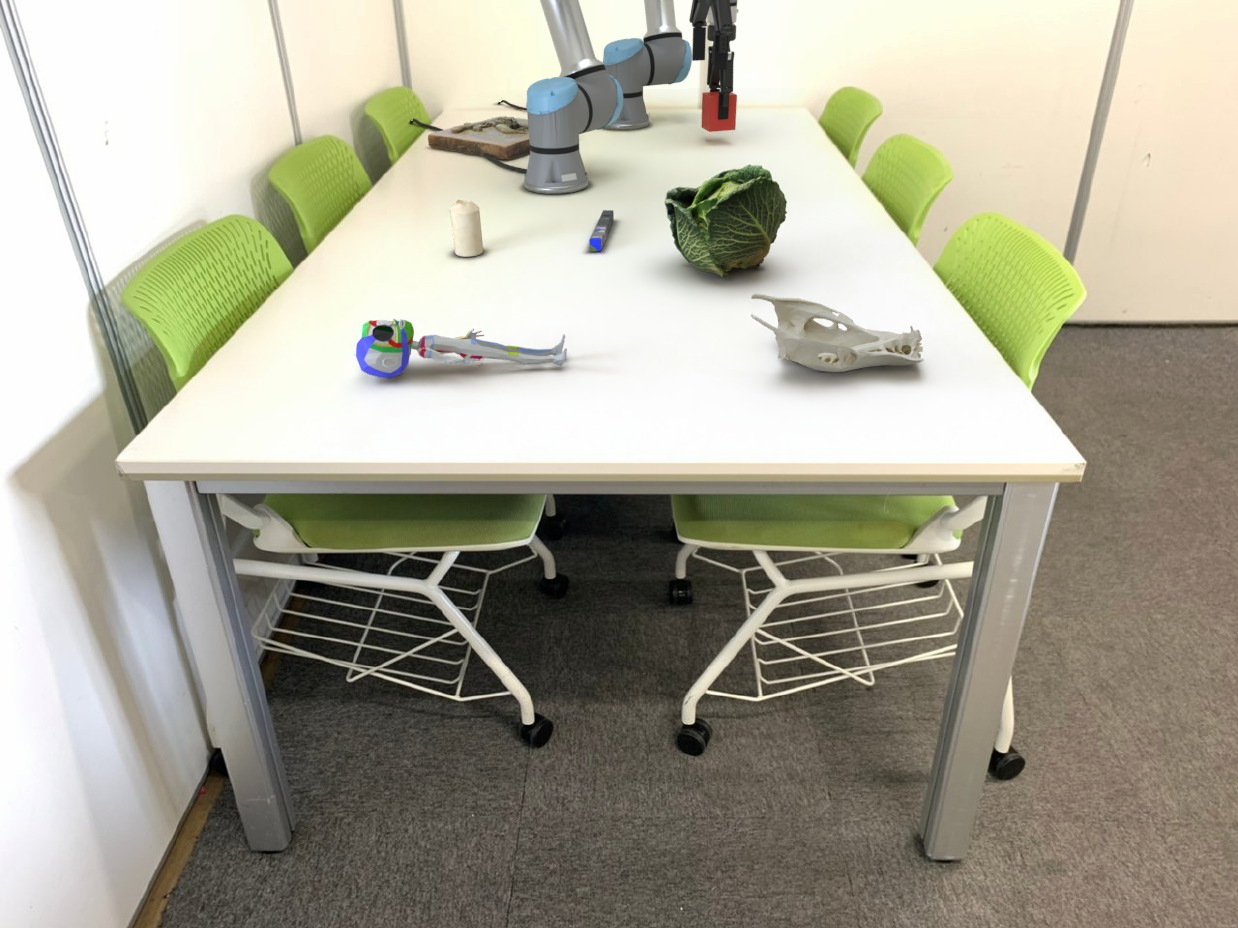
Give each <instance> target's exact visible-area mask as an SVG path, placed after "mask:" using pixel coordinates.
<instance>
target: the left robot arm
mask: <svg viewBox="0 0 1238 928" xmlns="http://www.w3.org/2000/svg"><path fill="white" fill-rule="evenodd" d="M539 3H540V5H541V9H542V11H543V12H542V13H543V15H544V18H545V22H546V24H547V29H548V32H549V35H550V38H551V41H552V43H553V47H554V50H555V53H556V56H557V60H558V63H559V67H560V69H561V70H560V73H559V76H553V77H551V78H543V79H540V80H537V81H535V82H533V83H531V84H530V85H529V86H528V88H527V90H526V105H525V108H527V111H526V113H527V114H526V115H527V119H528V129H529V142H530V153H529V157H528V162H527V168H523V167H518V166H515V165H510V164H507V163H505V162H503V161H501V160H500V159H497V158H493V157H492V156H490V155H488V154H486V153H484V154H483V156H482V157H485V158H486V159H488V160H489V161H491V162H493V163H495V164H496V165H498V166H500V167H503V168H505V169H508V170H511V171H515V172H519V173H524V174H525V175H524V180H523V183H524V188H525V189H526V190H527V191H530V192H531V193H535V194H536V193H537V194H543V195H544V194H545V195H562V194H570V193H576V192H579V191H583V190H584V189H586V188H587V187H589V175H588V173H587V171H586V168H585V164H584V161H583V158H582V156H581V153H580V135H582V134H585V133H589V132H592V131H596V130H601V129H605V128H604V127H606V126H608V125H611V124H612V123H614V122H615V121H616V120H617V118H618V117H619V115H620V112H621V110H622V107H623V92H622V89H621V86H620V84H619V82H618V81H617V80H616V79H614V77H613V76H611V75H608V74H607V72H606V69H605V65H604V63H603V61H601V60H599V59H598V58H597V57H596V54H595V51H594V48H593V45H592V41H591V37H590V34H589V31H588V28H587V25H586V21H585V18H584V15H583V11H582V7H581V3H580V0H539ZM710 6H711V10H712V15H713V20H714V25H715V29H716V31H715V32H714V33H713V36H714V56H713V70H726V69H727V47H728V35H729V33H732V32H733V24H732V15H731V6H730V0H692V2H691V7H690V13H689V18H688V21H689V23H690V24H691V27H692V47H691V50H692V62H696V61H697V62H698V61H706V44H707V43H706V39H707V27H708V22H707V19H708V12H709V8H710ZM412 118H413V117H412ZM409 123H410V125H412V124H413V123H415V124H417V125H418V126H420V127H424V128H427V129H430V130H434V131H435V132H438V131H442V130H444V129H443V128H440V127H438V126H435V125H431V124H427V123H424V122H421V121H419V120H418V119H416V118H413V121H411V119H410V120H409V122H408V124H409Z"/></svg>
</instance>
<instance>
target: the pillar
mask: <svg viewBox="0 0 1238 928" xmlns="http://www.w3.org/2000/svg"><path fill="white" fill-rule="evenodd" d="M614 216H615V215H614V210H613V209H612V210H611V209H602V212H601V214H600V216H599V219H598V221H597V222H596V225H595V227H594V229H593V231H592V234H591V236H590V237H589V241H588V243H589V244H588V245H589V246H588V247H589V248H588V250H589V252H601V251H602V249H603V247H604V245H605V242H606V239H607V237H608V235H609V232H610V231H611V228H612V226H613V223H614Z"/></svg>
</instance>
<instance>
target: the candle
mask: <svg viewBox="0 0 1238 928" xmlns="http://www.w3.org/2000/svg"><path fill="white" fill-rule="evenodd" d="M449 212H450V213H449V214H450V222H451V228H452V231H451V232H452V239H453V247H454V253H455V255H457V256H459V257H465V258H466V257H467V258H468V257H475V256H479V255H481V254H483V252H484V242H483V234H482V233H483V232H482V231H483V230H482V222H481V221H482V220H481V212H480V207H479V205H478V204H476V203H475V202H474V201H472V200H470V201H468V200H465V199H464V200H462V199H457V200H456V201H455V202H454V203H453V205H452V206H451V207H450V209H449Z"/></svg>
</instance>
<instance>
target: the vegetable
mask: <svg viewBox="0 0 1238 928" xmlns="http://www.w3.org/2000/svg"><path fill="white" fill-rule="evenodd" d="M665 196H666V197H665V199H664V205H665V208H666V209H665V210H666V218H667V219H668V221H669V222H670V224H669V228H670V231H671V236H672V238H673V239H674V240H673V243H674V245H675V247H676V249H677V250H678V252H680V255H681V256H682V257H683V258H684V259H685V261H686V262H687V263H688V264H689V263H691V264H692V265H693V266H694V267H695V268H696V269H699V270H700V271H702V272H704V273H708V274H714V275H715V274H716V275H718V276H719V277H721V278H723V277H724V276H730V274H729V273H728V272H729V271H732V270H734V269H740V268H742V269H747V268H748V267H754V268H756V267H757V268H760V266H761V264H763V263H764V261H765V258H766V257H767V256H768V255H769V253H770V250H771V245H772V244H774V243H775V241H776V239H777V236H778V235H777V234H778V231H779V229H780V227H781V225H782V224H783V223H784V222H786V218H787V216H786V214H787V213H788V211H787V203H788V201H787V199H786V196H785V194H784V192H783V191H782V189H781V188H780V184H779V183H778V181H777V180H774V179H773V176H772V173H771V171H770V170H768V169H765V168H763V165H755V164H754V165H751V164H748V165H745V166H743V167H742V168H732V169H729V170H723V171H721V172H720V173H718V174H716V175H714V176H713V177H711V178H709V179H707V180H704V181H703V182H702V184H701V185H700V186H698V187H684V186H677V187H674V188H672V189H670V190H668V191H667V192H666V194H665Z"/></svg>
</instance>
